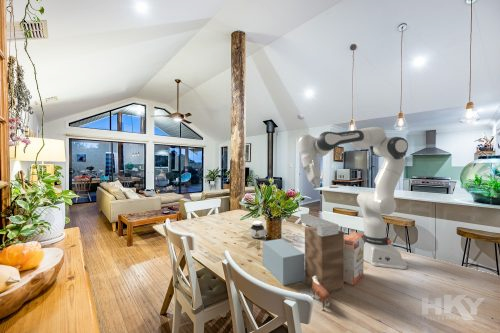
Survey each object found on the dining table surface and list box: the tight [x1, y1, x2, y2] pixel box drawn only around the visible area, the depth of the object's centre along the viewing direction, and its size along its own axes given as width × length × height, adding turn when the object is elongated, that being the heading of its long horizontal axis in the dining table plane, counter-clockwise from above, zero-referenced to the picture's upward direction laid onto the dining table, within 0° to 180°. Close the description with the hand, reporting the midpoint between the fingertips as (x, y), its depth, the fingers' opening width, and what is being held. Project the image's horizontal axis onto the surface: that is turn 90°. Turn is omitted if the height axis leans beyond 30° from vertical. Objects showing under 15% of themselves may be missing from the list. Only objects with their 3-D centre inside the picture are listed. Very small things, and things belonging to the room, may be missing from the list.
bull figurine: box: [310, 276, 331, 311], centre depth 89 cm, size 4×13×8 cm, turn 7°
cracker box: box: [343, 231, 365, 286], centre depth 106 cm, size 14×6×21 cm, turn 136°
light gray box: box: [300, 213, 339, 236], centre depth 103 cm, size 22×9×4 cm, turn 22°
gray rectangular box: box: [262, 238, 305, 286], centre depth 113 cm, size 22×12×13 cm, turn 22°
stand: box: [304, 226, 345, 294], centre depth 100 cm, size 12×12×26 cm
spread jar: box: [250, 220, 267, 240], centre depth 166 cm, size 12×11×12 cm
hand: (316, 187), depth 117 cm, fingers open, 8 cm apart
